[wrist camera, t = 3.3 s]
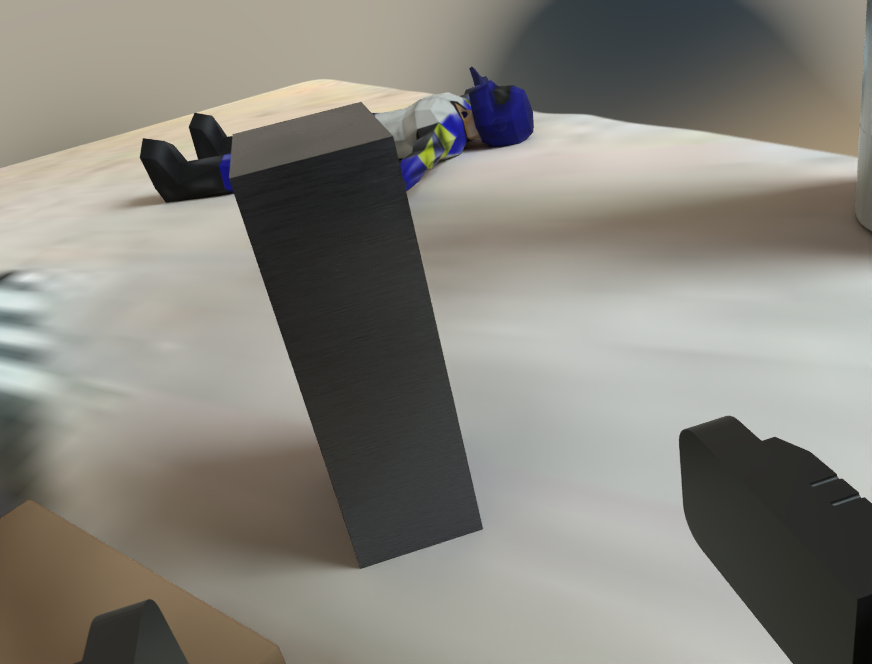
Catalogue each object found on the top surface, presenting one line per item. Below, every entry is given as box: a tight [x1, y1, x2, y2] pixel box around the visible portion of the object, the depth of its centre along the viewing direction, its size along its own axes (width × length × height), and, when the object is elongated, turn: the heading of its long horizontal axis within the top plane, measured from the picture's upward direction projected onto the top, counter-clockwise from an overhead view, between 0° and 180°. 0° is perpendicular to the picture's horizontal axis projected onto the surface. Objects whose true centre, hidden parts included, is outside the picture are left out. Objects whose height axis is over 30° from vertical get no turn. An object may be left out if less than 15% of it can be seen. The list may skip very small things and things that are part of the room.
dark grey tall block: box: [229, 102, 483, 568], centre depth 20 cm, size 5×4×11 cm
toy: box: [140, 67, 534, 203], centre depth 60 cm, size 33×6×30 cm
